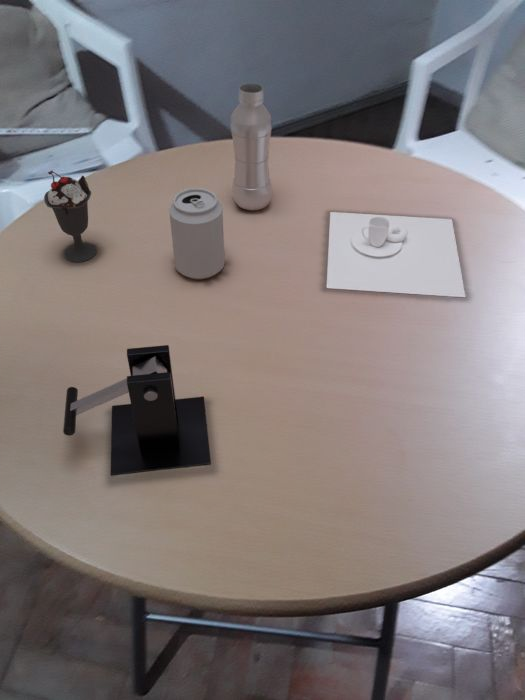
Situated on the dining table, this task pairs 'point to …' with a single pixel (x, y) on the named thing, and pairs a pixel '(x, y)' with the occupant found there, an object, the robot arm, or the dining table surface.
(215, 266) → the can
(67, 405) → the lever handle
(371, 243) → the teacup and saucer
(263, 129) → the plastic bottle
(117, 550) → the dining table surface
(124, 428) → the black lever stand
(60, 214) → the sundae
